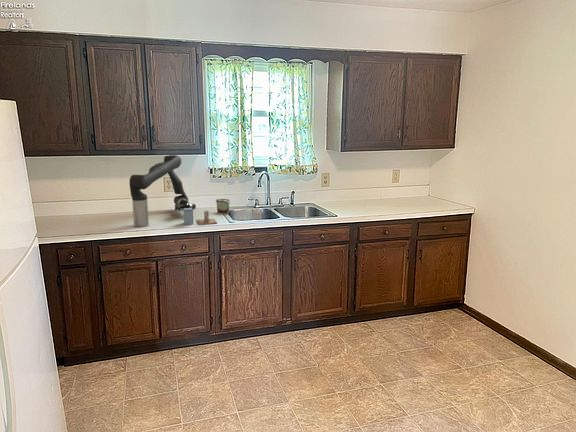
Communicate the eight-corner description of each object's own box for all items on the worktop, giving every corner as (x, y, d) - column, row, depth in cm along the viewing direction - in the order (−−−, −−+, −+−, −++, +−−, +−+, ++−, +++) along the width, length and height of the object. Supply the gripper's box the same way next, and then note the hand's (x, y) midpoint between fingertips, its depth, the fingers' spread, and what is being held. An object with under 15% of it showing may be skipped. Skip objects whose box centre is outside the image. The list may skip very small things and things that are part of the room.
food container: (234, 213, 325) (233, 199, 323) (228, 214, 320) (228, 201, 318) (221, 211, 332) (221, 198, 330) (216, 212, 327) (215, 199, 325)
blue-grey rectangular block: (184, 224, 289) (184, 210, 286) (183, 222, 294) (183, 208, 292) (193, 224, 291) (192, 209, 288) (192, 222, 296) (191, 207, 293)
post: (199, 224, 289) (198, 213, 287) (196, 220, 300) (196, 209, 298) (217, 223, 293) (216, 212, 291) (213, 219, 304) (213, 208, 302)
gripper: (173, 199, 313) (175, 204, 298) (193, 198, 318) (196, 203, 303) (173, 210, 315) (176, 215, 300) (193, 208, 319) (197, 213, 305)
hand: (186, 209), depth 301 cm, fingers open, 8 cm apart
